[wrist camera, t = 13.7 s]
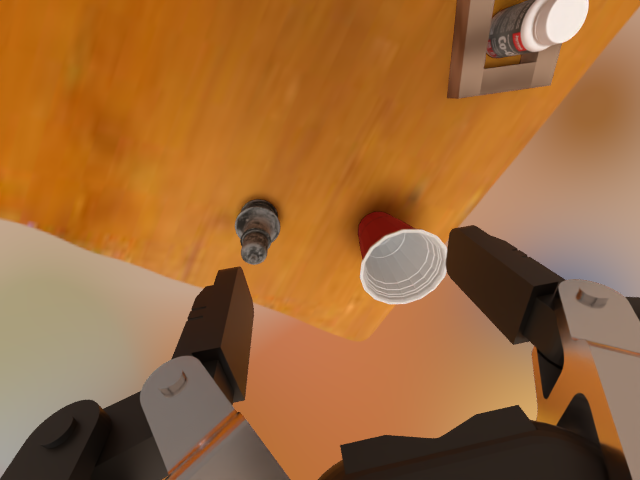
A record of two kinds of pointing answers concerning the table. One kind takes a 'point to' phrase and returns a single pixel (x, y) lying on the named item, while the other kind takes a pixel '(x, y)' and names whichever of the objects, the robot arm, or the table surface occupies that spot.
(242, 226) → the rusty flanged peg
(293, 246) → the table surface
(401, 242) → the plastic cup
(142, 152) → the table surface
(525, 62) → the gray square frame
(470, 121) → the table surface
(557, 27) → the pill bottle
